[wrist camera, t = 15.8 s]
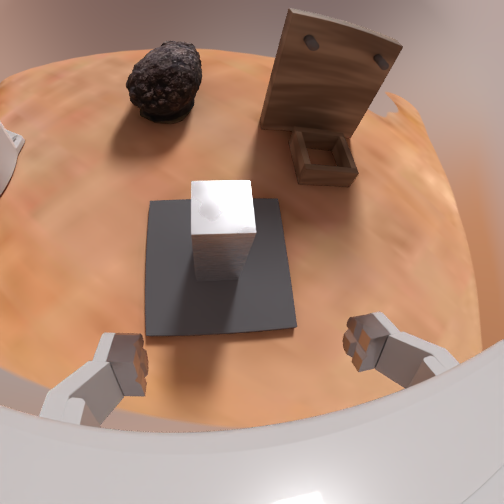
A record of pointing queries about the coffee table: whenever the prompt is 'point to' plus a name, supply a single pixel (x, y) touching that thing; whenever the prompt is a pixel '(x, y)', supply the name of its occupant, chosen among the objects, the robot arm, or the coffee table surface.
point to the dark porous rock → (166, 82)
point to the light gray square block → (221, 228)
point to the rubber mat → (215, 292)
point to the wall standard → (325, 89)
